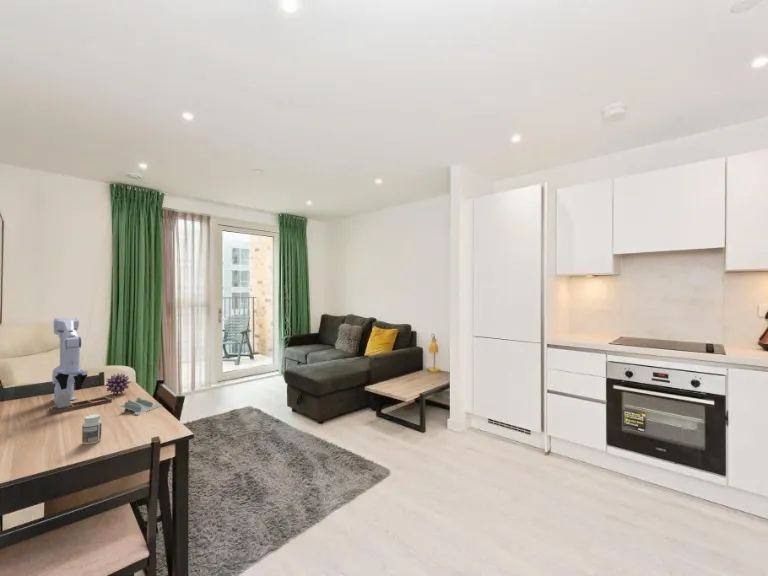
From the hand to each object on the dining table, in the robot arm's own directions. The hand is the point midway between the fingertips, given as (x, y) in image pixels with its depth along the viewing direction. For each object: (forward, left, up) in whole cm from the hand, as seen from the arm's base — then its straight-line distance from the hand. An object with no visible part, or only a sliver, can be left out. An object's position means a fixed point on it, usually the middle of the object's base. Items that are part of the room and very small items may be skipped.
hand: (71, 389), depth 174 cm
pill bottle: (+55, -8, -10) cm, 56 cm away
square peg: (-3, -2, -10) cm, 11 cm away
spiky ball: (-14, +24, -10) cm, 30 cm away
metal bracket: (+27, +19, -11) cm, 35 cm away
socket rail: (-3, +5, -10) cm, 12 cm away
